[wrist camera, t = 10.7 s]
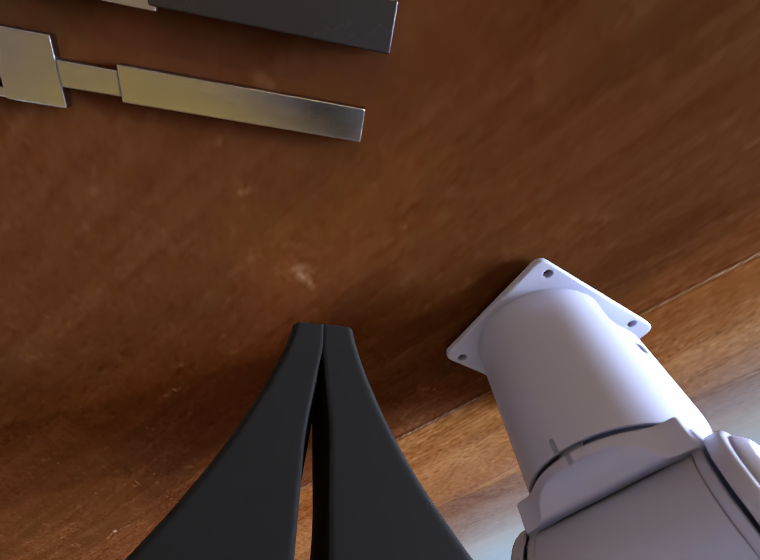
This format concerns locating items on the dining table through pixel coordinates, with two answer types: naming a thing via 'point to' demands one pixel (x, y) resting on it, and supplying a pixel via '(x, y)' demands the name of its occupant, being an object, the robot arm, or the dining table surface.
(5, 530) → the dining table surface
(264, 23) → the knife
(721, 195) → the dining table surface
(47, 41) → the fork
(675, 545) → the robot arm
